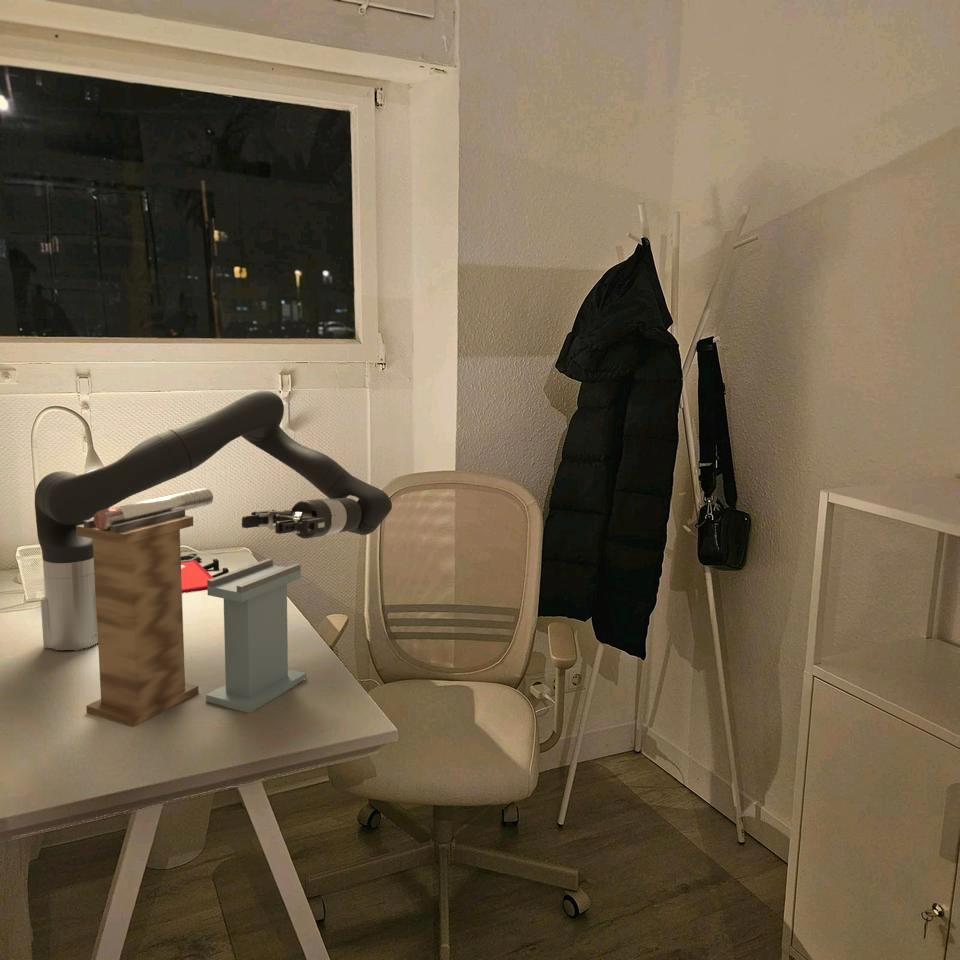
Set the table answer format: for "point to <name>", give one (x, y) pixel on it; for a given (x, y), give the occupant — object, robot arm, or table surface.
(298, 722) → the table surface
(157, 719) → the table surface
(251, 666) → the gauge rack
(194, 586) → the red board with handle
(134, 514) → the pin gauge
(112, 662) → the stand
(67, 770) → the table surface
